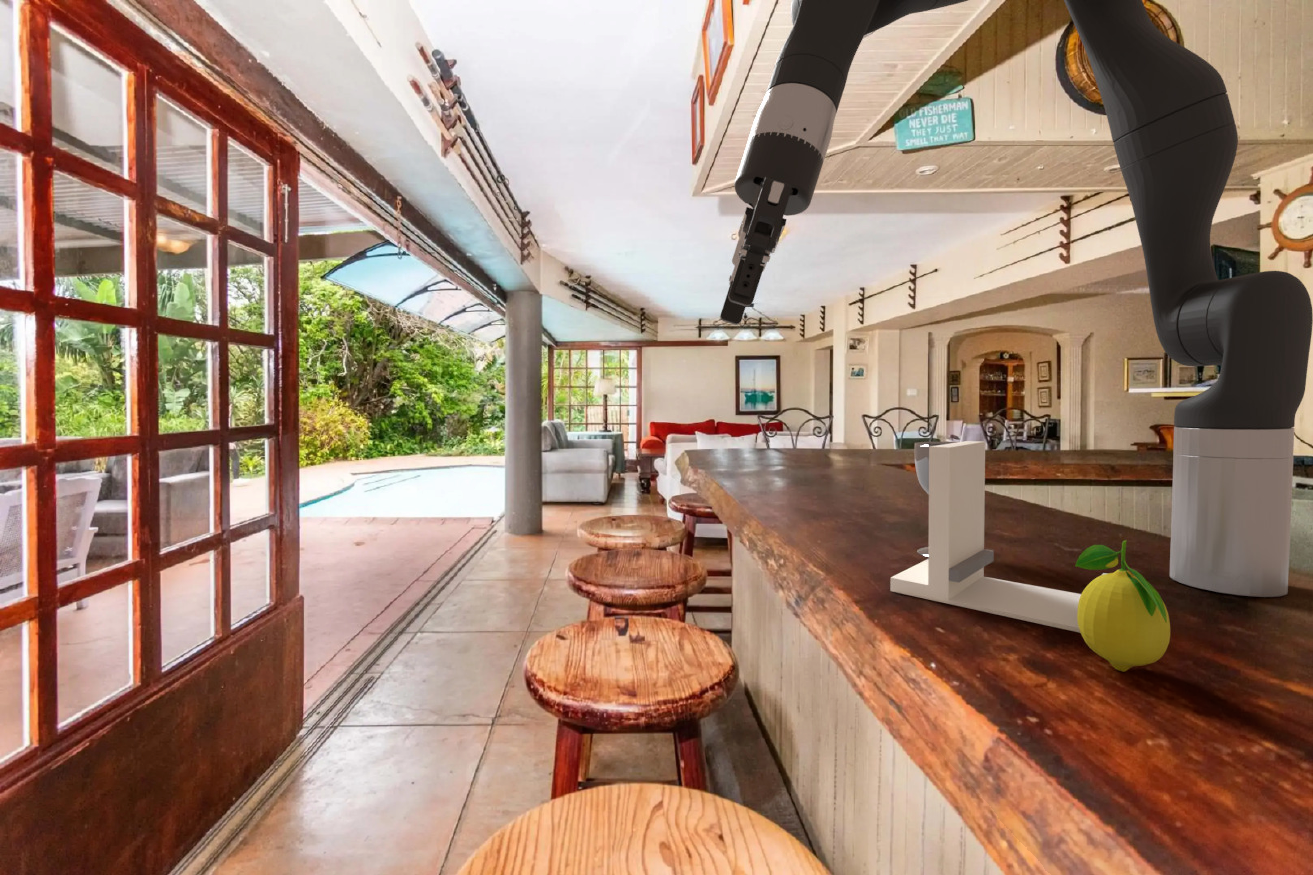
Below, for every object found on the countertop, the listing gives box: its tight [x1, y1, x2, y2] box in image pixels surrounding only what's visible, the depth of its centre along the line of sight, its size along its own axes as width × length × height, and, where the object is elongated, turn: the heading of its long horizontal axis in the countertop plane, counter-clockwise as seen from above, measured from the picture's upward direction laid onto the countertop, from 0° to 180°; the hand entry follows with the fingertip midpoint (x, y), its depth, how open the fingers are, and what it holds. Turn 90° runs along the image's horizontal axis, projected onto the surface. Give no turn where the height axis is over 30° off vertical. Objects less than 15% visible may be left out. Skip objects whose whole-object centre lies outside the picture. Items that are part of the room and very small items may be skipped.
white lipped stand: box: [889, 440, 1109, 634], centre depth 60 cm, size 11×18×16 cm, turn 44°
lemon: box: [1074, 540, 1171, 673], centre depth 44 cm, size 7×6×10 cm
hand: (733, 313), depth 56 cm, fingers open, 8 cm apart
